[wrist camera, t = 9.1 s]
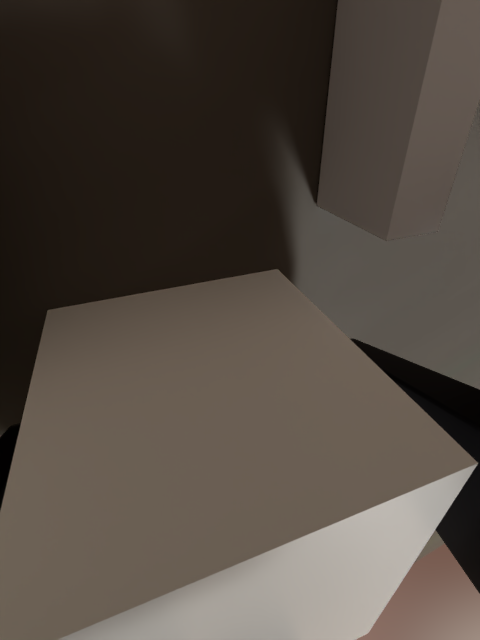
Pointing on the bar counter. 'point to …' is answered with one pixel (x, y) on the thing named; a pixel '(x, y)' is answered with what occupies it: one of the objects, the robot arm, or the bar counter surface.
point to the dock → (398, 111)
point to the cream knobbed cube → (214, 473)
